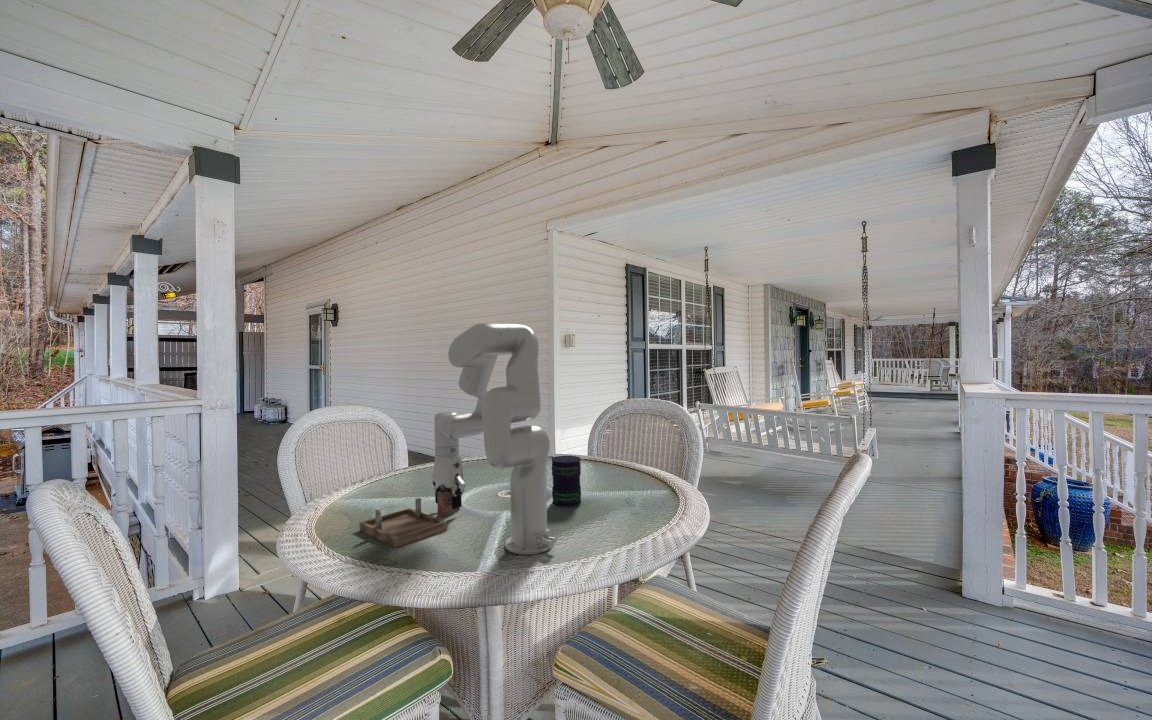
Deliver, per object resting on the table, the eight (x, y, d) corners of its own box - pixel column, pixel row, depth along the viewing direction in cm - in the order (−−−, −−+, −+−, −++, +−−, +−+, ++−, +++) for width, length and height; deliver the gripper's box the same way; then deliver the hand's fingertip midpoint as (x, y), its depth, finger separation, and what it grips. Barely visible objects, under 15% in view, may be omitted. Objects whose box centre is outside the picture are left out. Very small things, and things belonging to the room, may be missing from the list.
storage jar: (547, 500, 167) (547, 457, 167) (573, 496, 171) (573, 454, 171) (559, 509, 158) (558, 463, 158) (586, 504, 162) (585, 460, 162)
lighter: (441, 517, 152) (440, 485, 151) (434, 515, 154) (434, 484, 153) (462, 510, 158) (461, 480, 158) (455, 508, 160) (454, 478, 160)
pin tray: (446, 530, 141) (446, 505, 141) (395, 547, 129) (394, 520, 129) (409, 515, 154) (409, 492, 154) (359, 530, 142) (359, 505, 142)
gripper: (473, 452, 153) (474, 507, 153) (441, 445, 164) (442, 497, 164) (453, 456, 147) (454, 514, 147) (421, 449, 158) (422, 502, 158)
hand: (448, 504), depth 156 cm, fingers open, 8 cm apart
